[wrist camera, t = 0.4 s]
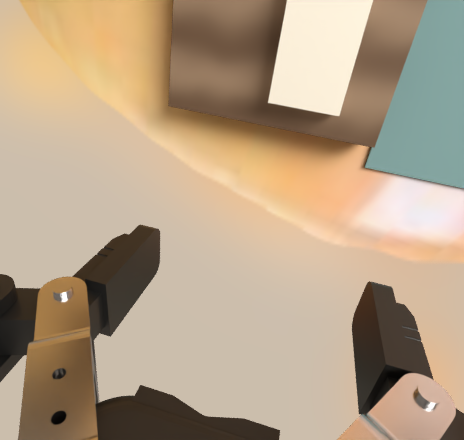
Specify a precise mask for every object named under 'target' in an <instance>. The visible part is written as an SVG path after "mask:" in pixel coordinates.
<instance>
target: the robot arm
mask: <svg viewBox="0 0 464 440" xmlns="http://www.w3.org/2000/svg"><path fill="white" fill-rule="evenodd" d="M159 263H160V231H159V229H156V228H152V227H148V226H143V225H139V226H138V227H137V228H136V229H135V230H134V231H133V232H132V233H130V234H129V235H128V234H123V235H121V236H118V237H116V238H114V239H112V240H111V241H110V242H109V243H108V244H107V245H106V246H105V247H104V248H103V249H101V250H100V251H99V252H98V254H97V255H95V256H94V257H93V258H92V259H91V260H90V261H89V262H88V263H86V264H85V265H84V266H83V267H82V268H81V269H80V270H79V271H78V272H77V273H76V274H75V275H74V276H73V277H62V278H57V279H54V280H52V281H50V282H48V283H47V284H45V285H44V286H43V287H42V288H41V289H33V288H32V289H31V288H30V289H29V288H15V284H14V281H13V279H12V278H11V277H9V276H7V275H3V274H0V382H1V381H2V380H3V378H4V377H5V376H6V375H7V374H8V373H9V371H10V370H11V369H12V368H13V367H14V366H15V365H16V363H17V362H18V361H19V360H20V359H21V358H22V357H23V356H24V355H27V359H26V369H25V378H24V388H23V399H22V408H21V417H20V427H19V436H18V440H279V435H280V430H277V429H274V428H271V427H268V426H265V425H262V424H259V423H256V422H252V421H250V420H246V419H241V418H223V417H221V418H220V417H207V416H204V415H202V414H200V413H199V412H197V411H196V410H194V409H193V408H191V407H190V406H188V405H187V404H185V403H183V402H182V401H181V400H179V399H178V398H176V397H175V396H173V395H170V394H167V393H164V392H160V391H158V390H154V389H151V388H148V387H145V386H142V385H140V387H139V389H138V391H137V393H136V394H135V396H121V397H116V398H112V399H108V400H105V401H102V402H99V394H98V382H97V371H96V360H95V349H94V339H95V338H96V337H97V335H98V334H99V333H101V334H104V335H107V336H111V335H112V334H113V332H114V331H115V330H116V328H117V327H118V326H119V324H120V323H121V321H122V320H123V319H124V317H125V316H126V315H127V313H128V312H129V310H130V309H131V308H132V306H133V305H134V304H135V302H136V301H137V299H138V298H139V297H140V295H141V294H142V293H143V291H144V290H145V288H146V287H147V286H148V284H149V283H150V282H151V280H152V279H153V277H154V276H155V274H156V273H157V270H158V267H159ZM352 335H353V347H354V358H355V371H356V383H357V395H358V406H359V407H358V408H359V414H361V415H360V416H359V417H358V418H357V419H356V420H355V421H354V422H353V423H352V425H350V427H349V428H348V429H347V430H346V431H345V432H344V433H343V434H342V435H341V436H340V437H339V438H338V439H337V440H464V413H462V412H460V411H459V410H457V409H456V408H455V405H454V402H453V400H452V398H451V397H450V395H449V394H448V392H446V390H445V389H444V388H443V387H442V386H441V385H439V384H438V383H437V382H436V381H434V380H433V376H432V373H431V370H430V367H429V363H428V360H427V357H426V354H425V350H424V347H423V344H422V342H421V337H420V334H419V332H418V328H417V325H416V321H415V318H414V316H413V315H412V314H411V312H410V311H409V310H408V309H407V307H406V306H405V305H403V304H399V303H396V300H395V297H394V293H393V289H392V287H390V286H386V285H382V284H378V283H374V282H368V283H367V285H366V287H365V289H364V292H363V294H362V297H361V299H360V301H359V304H358V306H357V308H356V311H355V313H354V317H353V323H352Z"/></svg>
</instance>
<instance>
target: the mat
mask: <svg viewBox="0 0 464 440" xmlns="http://www.w3.org/2000/svg"><path fill="white" fill-rule="evenodd" d="M365 168H370V169H374V170H379V171H384V172H388V173H393V174H398V175H403V176H407V177H412V178H417V179H421V180H426V181H431V182H436V183H440V184H445V185H450V186H454V187H459V188H464V0H428V1H427V3H426V6H425V9H424V12H423V14H422V17H421V20H420V23H419V26H418V28H417V31H416V34H415V37H414V39H413V42H412V45H411V48H410V51H409V53H408V56H407V59H406V62H405V64H404V67H403V70H402V73H401V76H400V78H399V81H398V84H397V87H396V89H395V92H394V95H393V98H392V101H391V103H390V106H389V109H388V112H387V114H386V117H385V120H384V123H383V126H382V128H381V131H380V134H379V137H378V139H377V142H376V145H375V148H373V147H371V150H370V153H369V155H368V158H367V161H366V164H365Z"/></svg>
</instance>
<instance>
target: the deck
mask: <svg viewBox="0 0 464 440" xmlns="http://www.w3.org/2000/svg"><path fill="white" fill-rule="evenodd" d="M427 1H428V0H373V3H372V6H371V9H370V13H369V16H368V20H367V23H366V26H365V30H364V33H363V37H362V40H361V44H360V47H359V50H358V54H357V57H356V61H355V64H354V67H353V71H352V74H351V78H350V81H349V85H348V88H347V91H346V95H345V98H344V102H343V105H342V108H341V112H340V115H339V116H334V115H329V114H324V113H319V112H314V111H308V110H303V109H298V108H293V107H288V106H282V105H277V104H272V103H268V100H269V95H270V89H271V84H272V78H273V73H274V68H275V62H276V57H277V52H278V46H279V41H280V36H281V30H282V25H283V20H284V14H285V9H286V3H287V0H173V20H172V41H171V63H170V85H169V106H171V107H176V108H181V109H186V110H190V111H195V112H200V113H205V114H210V115H215V116H220V117H225V118H230V119H235V120H240V121H245V122H250V123H255V124H259V125H264V126H269V127H274V128H279V129H284V130H289V131H294V132H299V133H304V134H309V135H314V136H319V137H324V138H328V139H333V140H338V141H343V142H348V143H353V144H358V145H363V146H368V147H373V148H375V145H376V142H377V139H378V137H379V134H380V131H381V128H382V126H383V123H384V120H385V117H386V114H387V112H388V109H389V106H390V103H391V101H392V98H393V95H394V92H395V89H396V87H397V84H398V81H399V78H400V76H401V73H402V70H403V67H404V64H405V62H406V59H407V56H408V53H409V51H410V48H411V45H412V42H413V39H414V37H415V34H416V31H417V28H418V26H419V23H420V20H421V17H422V14H423V12H424V9H425V6H426V3H427Z"/></svg>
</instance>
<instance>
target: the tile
mask: <svg viewBox="0 0 464 440" xmlns="http://www.w3.org/2000/svg"><path fill="white" fill-rule="evenodd" d="M372 3H373V0H287V3H286V9H285V14H284V20H283V25H282V30H281V36H280V41H279V46H278V52H277V57H276V62H275V68H274V73H273V78H272V84H271V89H270V95H269V100H268V103H272V104H277V105H282V106H288V107H293V108H298V109H303V110H308V111H314V112H319V113H324V114H329V115H334V116H339V115H340V112H341V108H342V105H343V102H344V98H345V95H346V91H347V88H348V85H349V81H350V78H351V74H352V71H353V67H354V64H355V61H356V57H357V54H358V50H359V47H360V44H361V40H362V37H363V33H364V30H365V26H366V23H367V20H368V16H369V13H370V9H371V6H372Z"/></svg>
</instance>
